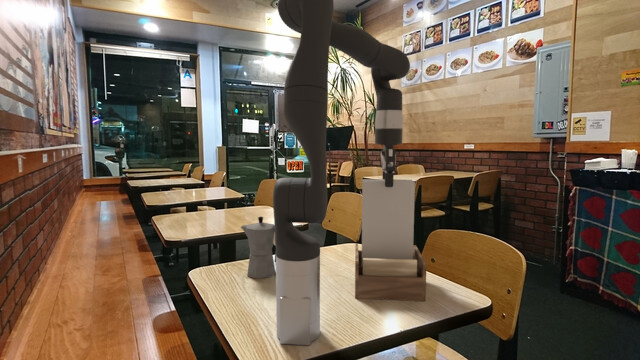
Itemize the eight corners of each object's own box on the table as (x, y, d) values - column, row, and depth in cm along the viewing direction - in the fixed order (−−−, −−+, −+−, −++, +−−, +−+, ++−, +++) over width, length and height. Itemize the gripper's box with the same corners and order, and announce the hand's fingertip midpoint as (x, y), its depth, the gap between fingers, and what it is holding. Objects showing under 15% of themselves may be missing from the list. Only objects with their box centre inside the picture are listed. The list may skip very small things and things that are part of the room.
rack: (425, 301, 92) (426, 263, 91) (355, 298, 94) (355, 261, 93) (414, 277, 108) (415, 245, 107) (355, 275, 110) (355, 243, 109)
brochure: (409, 280, 106) (412, 179, 103) (412, 287, 101) (415, 181, 98) (361, 278, 108) (362, 179, 105) (361, 285, 102) (362, 181, 99)
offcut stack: (416, 298, 94) (417, 261, 93) (362, 295, 95) (363, 259, 94) (413, 292, 98) (414, 256, 97) (362, 290, 99) (362, 255, 98)
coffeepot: (235, 277, 108) (233, 218, 107) (248, 266, 118) (246, 213, 116) (283, 281, 105) (283, 221, 103) (293, 270, 114) (292, 215, 113)
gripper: (406, 126, 92) (404, 188, 94) (399, 128, 106) (398, 182, 108) (376, 126, 93) (375, 188, 95) (373, 128, 107) (372, 182, 109)
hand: (387, 185), depth 101 cm, fingers open, 8 cm apart
